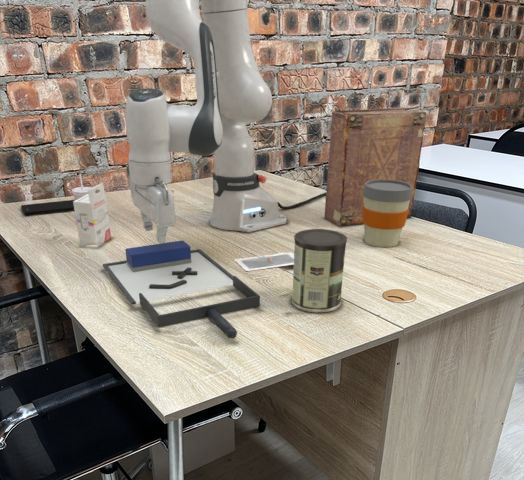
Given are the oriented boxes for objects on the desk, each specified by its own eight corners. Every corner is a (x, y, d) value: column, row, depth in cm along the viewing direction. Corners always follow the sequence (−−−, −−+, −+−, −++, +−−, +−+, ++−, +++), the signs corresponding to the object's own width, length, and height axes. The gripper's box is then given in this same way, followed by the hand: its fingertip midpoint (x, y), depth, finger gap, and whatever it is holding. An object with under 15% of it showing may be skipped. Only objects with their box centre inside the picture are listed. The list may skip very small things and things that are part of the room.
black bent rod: (185, 281, 121) (185, 279, 121) (189, 286, 119) (189, 283, 118) (148, 287, 118) (148, 284, 118) (151, 291, 116) (151, 289, 116)
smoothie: (71, 225, 157) (64, 174, 150) (86, 219, 163) (79, 169, 156) (90, 228, 155) (83, 176, 148) (104, 222, 161) (98, 172, 154)
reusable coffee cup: (413, 241, 151) (422, 185, 143) (388, 252, 143) (396, 193, 135) (374, 231, 158) (380, 177, 151) (348, 241, 150) (354, 184, 142)
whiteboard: (200, 255, 139) (199, 248, 138) (240, 288, 121) (240, 281, 120) (103, 270, 129) (102, 263, 128) (132, 309, 111) (131, 302, 110)
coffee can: (329, 290, 122) (334, 226, 114) (348, 310, 113) (355, 243, 106) (284, 294, 119) (287, 230, 112) (300, 315, 110) (305, 247, 103)
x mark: (189, 269, 127) (189, 266, 127) (199, 274, 125) (199, 272, 124) (170, 274, 125) (170, 271, 124) (179, 279, 122) (179, 277, 122)
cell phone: (87, 208, 171) (86, 205, 171) (25, 215, 164) (24, 212, 163) (81, 201, 178) (80, 198, 178) (21, 208, 171) (20, 205, 170)
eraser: (183, 256, 135) (182, 240, 133) (191, 262, 131) (190, 246, 129) (126, 265, 129) (124, 248, 127) (133, 272, 125) (131, 255, 123)
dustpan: (140, 308, 112) (138, 293, 110) (235, 290, 120) (234, 275, 119) (178, 358, 95) (177, 340, 94) (284, 332, 104) (285, 316, 102)
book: (393, 209, 177) (407, 107, 162) (411, 217, 170) (427, 111, 155) (323, 218, 168) (332, 110, 153) (339, 227, 161) (350, 114, 146)
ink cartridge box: (94, 236, 149) (86, 180, 142) (111, 238, 149) (105, 182, 141) (79, 247, 142) (70, 188, 135) (97, 248, 141) (89, 190, 134)
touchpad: (305, 267, 132) (305, 258, 131) (246, 275, 127) (246, 266, 126) (290, 256, 139) (291, 247, 138) (234, 264, 133) (234, 255, 132)
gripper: (181, 182, 113) (184, 248, 119) (150, 163, 128) (154, 222, 135) (151, 184, 110) (155, 251, 117) (123, 164, 126) (128, 225, 133)
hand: (154, 235), depth 126 cm, fingers open, 8 cm apart
